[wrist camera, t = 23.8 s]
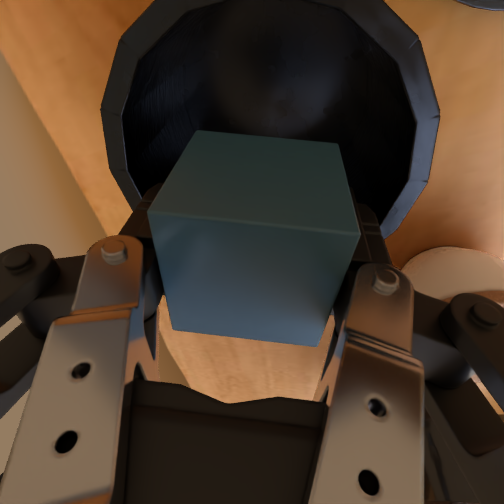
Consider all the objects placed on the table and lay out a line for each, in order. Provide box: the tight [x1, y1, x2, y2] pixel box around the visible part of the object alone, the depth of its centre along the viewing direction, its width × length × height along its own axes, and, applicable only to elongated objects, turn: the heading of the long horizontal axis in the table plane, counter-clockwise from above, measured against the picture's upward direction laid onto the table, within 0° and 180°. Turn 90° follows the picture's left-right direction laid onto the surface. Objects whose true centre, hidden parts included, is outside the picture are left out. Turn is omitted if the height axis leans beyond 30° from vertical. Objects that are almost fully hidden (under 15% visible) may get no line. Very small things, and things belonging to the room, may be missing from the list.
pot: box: [100, 0, 440, 239], centre depth 16 cm, size 13×13×10 cm
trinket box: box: [401, 246, 504, 383], centre depth 24 cm, size 11×11×9 cm
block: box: [147, 130, 361, 347], centre depth 9 cm, size 4×4×4 cm
